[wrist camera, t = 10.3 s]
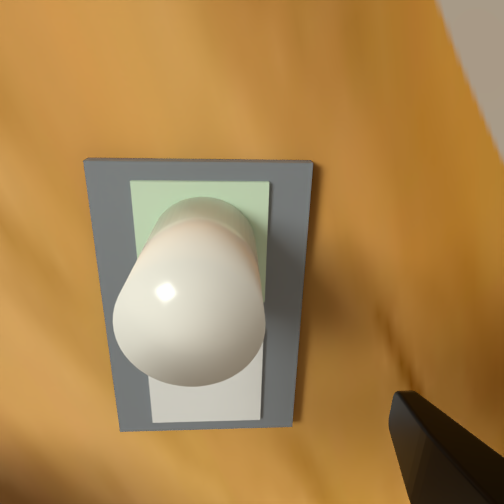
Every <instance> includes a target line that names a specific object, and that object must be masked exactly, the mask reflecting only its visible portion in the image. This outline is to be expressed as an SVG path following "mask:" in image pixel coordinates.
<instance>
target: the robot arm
mask: <svg viewBox="0 0 504 504" xmlns="http://www.w3.org/2000/svg"><path fill="white" fill-rule="evenodd" d="M389 430H390V434H391V438H392V441H393V445H394V448H395V452H396V455H397V459H398V462H399V466H400V469H401V473H402V476H403V480H404V483H405V487H406V490H407V494H408V497H409V500H410V503H411V504H504V457H502V456H501V455H500V454H498V453H497V452H496V451H494V450H493V449H492V448H490V447H489V446H488V445H486V444H485V443H484V442H482V441H481V440H480V439H478V438H477V437H476V436H474V435H473V434H471V433H470V432H469V431H467V430H466V429H465V428H463V427H462V426H461V425H459V424H458V423H457V422H455V421H454V420H453V419H451V418H450V417H449V416H447V415H446V414H445V413H443V412H442V411H441V410H439V409H438V408H437V407H435V406H434V405H433V404H431V403H430V402H429V401H427V400H426V399H425V398H423V397H422V396H421V395H419V394H418V393H417V392H415V391H397V392H395V394H394V396H393V400H392V405H391V410H390V415H389Z"/></svg>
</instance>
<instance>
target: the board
mask: <svg viewBox="0 0 504 504" xmlns="http://www.w3.org/2000/svg"><path fill="white" fill-rule="evenodd" d="M83 162H84V170H85V177H86V184H87V192H88V199H89V207H90V214H91V221H92V229H93V236H94V243H95V251H96V258H97V265H98V273H99V280H100V287H101V295H102V302H103V309H104V317H105V324H106V331H107V339H108V346H109V353H110V361H111V368H112V375H113V383H114V390H115V397H116V405H117V412H118V420H119V427H120V432H128V431H163V430H198V429H233V428H268V427H292V422H293V410H294V397H295V385H296V372H297V360H298V347H299V335H300V322H301V309H302V297H303V284H304V272H305V259H306V247H307V234H308V222H309V209H310V196H311V184H312V171H313V162H312V161H311V160H241V159H153V158H87V159H85V160H84V161H83ZM191 197H212V198H217V199H220V200H223V201H225V202H227V203H229V204H231V205H233V206H234V207H235V208H237V209H238V210H239V211H240V212H241V213H242V214H243V215H244V216H245V217H246V219H247V220H248V221H249V223H250V225H251V227H252V229H253V232H254V236H255V241H256V249H257V257H258V265H259V273H260V281H261V289H262V297H263V305H264V313H265V322H266V325H265V335H264V340H263V342H262V345H261V348H260V349H259V351H258V353H257V355H256V356H255V357H254V359H253V360H252V361H251V362H250V363H249V364H248V365H247V367H246V368H244V369H243V370H242V371H240V372H239V373H238V374H236V375H234V376H233V377H231V378H229V379H227V380H224V381H222V382H219V383H216V384H212V385H207V386H198V387H185V386H177V385H172V384H168V383H164V382H161V381H159V380H156V379H154V378H152V377H150V376H148V375H147V374H145V373H143V372H142V371H140V370H139V369H138V368H136V367H135V366H134V365H133V364H132V363H131V362H130V361H129V360H128V359H127V357H126V356H125V355H124V353H123V352H122V350H121V349H120V347H119V345H118V342H117V340H116V337H115V334H114V329H113V312H114V307H115V303H116V301H117V298H118V296H119V294H120V292H121V290H122V288H123V286H124V284H125V282H126V280H127V278H128V276H129V274H130V272H131V271H132V269H133V267H134V265H135V263H136V261H137V259H138V257H139V255H140V253H141V251H142V249H143V247H144V245H145V243H146V241H147V239H148V238H149V236H150V234H151V232H152V230H153V228H154V226H155V224H156V222H157V220H158V219H159V217H160V216H161V215H162V213H164V212H165V211H166V210H167V209H168V208H169V207H170V206H172V205H173V204H175V203H177V202H179V201H181V200H184V199H187V198H191Z"/></svg>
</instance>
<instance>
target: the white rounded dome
mask: <svg viewBox="0 0 504 504" xmlns="http://www.w3.org/2000/svg"><path fill="white" fill-rule="evenodd" d="M265 325H266V322H265V313H264V305H263V297H262V289H261V281H260V273H259V265H258V257H257V249H256V241H255V236H254V232H253V229H252V227H251V225H250V223H249V221H248V220H247V219H246V217H245V216H244V215H243V214H242V213H241V212H240V211H239V210H238V209H237V208H235V207H234V206H233V205H231V204H229V203H227V202H225V201H223V200H220V199H217V198H212V197H191V198H187V199H184V200H181V201H179V202H177V203H175V204H173V205H172V206H170V207H169V208H168V209H167V210H166V211H165V212H164V213H162V215H161V216H160V217H159V219H158V220H157V222H156V224H155V226H154V228H153V230H152V232H151V234H150V236H149V238H148V239H147V241H146V243H145V245H144V247H143V249H142V251H141V253H140V255H139V257H138V259H137V261H136V263H135V265H134V267H133V269H132V271H131V272H130V274H129V276H128V278H127V280H126V282H125V284H124V286H123V288H122V290H121V292H120V294H119V296H118V298H117V301H116V303H115V307H114V312H113V329H114V334H115V337H116V340H117V342H118V345H119V347H120V349H121V350H122V352H123V353H124V355H125V356H126V357H127V359H128V360H129V361H130V362H131V363H132V364H133V365H134V366H135V367H136V368H138V369H139V370H140V371H142V372H143V373H145V374H147V375H148V376H150V377H152V378H154V379H156V380H159V381H161V382H164V383H168V384H172V385H177V386H185V387H198V386H207V385H212V384H216V383H219V382H222V381H224V380H227V379H229V378H231V377H233V376H234V375H236V374H238V373H239V372H240V371H242V370H243V369H244V368H246V367H247V365H248V364H249V363H250V362H251V361H252V360H253V359H254V357H255V356H256V355H257V353H258V351H259V349H260V348H261V345H262V342H263V340H264V335H265Z"/></svg>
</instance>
